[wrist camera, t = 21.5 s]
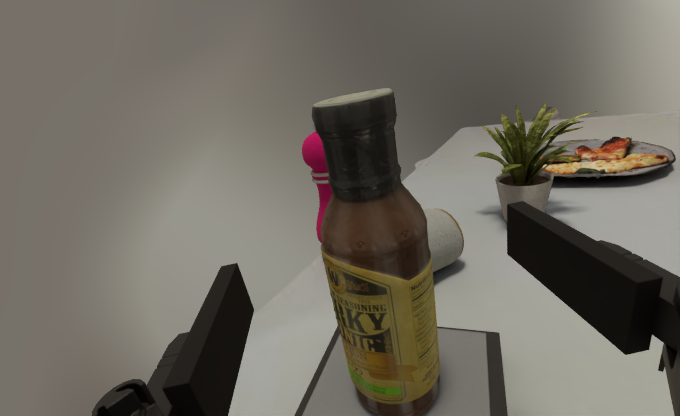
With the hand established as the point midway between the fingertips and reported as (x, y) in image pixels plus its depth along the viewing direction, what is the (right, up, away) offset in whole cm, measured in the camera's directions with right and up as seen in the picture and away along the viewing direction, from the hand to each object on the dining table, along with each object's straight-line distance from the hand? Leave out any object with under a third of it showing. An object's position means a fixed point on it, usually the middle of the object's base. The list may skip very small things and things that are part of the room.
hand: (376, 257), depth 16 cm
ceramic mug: (+8, -5, +27) cm, 28 cm away
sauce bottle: (+2, -10, +8) cm, 13 cm away
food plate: (+44, +10, +46) cm, 64 cm away
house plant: (+25, 0, +31) cm, 40 cm away
